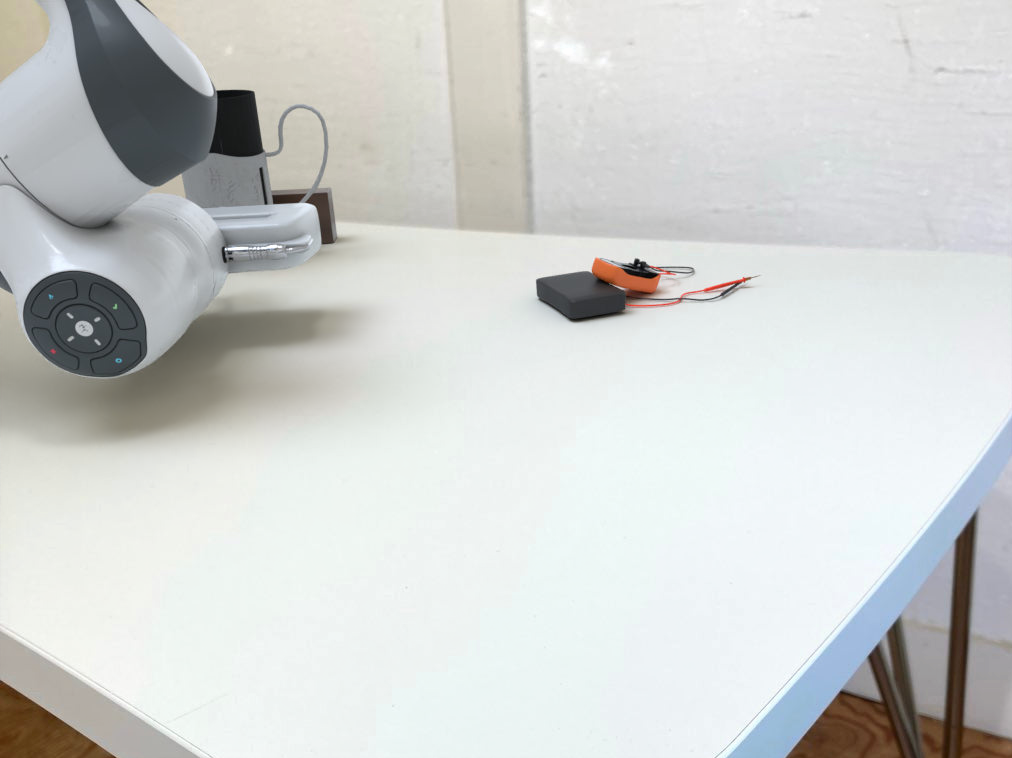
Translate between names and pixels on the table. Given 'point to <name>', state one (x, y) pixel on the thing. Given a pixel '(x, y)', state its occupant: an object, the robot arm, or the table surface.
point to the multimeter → (609, 287)
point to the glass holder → (239, 156)
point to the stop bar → (320, 201)
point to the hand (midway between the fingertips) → (210, 217)
